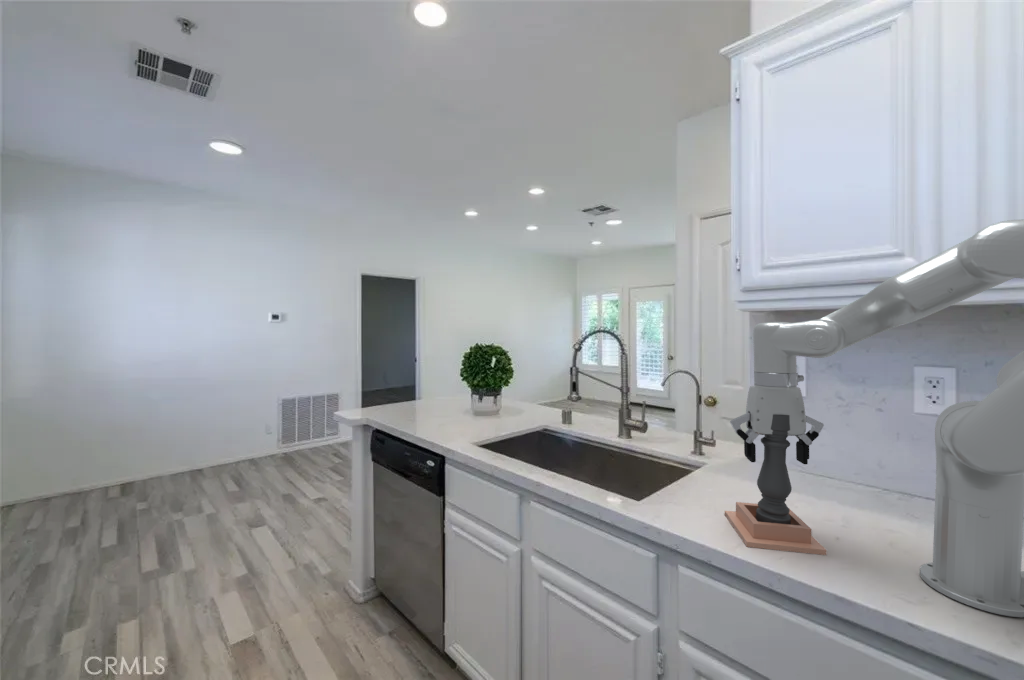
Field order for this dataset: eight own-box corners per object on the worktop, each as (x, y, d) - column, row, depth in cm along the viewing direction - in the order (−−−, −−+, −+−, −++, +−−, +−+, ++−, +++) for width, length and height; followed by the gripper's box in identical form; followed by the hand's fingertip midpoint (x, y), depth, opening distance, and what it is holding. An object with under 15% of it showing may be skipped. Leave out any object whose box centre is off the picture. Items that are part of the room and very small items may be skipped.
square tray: (791, 520, 91) (791, 503, 90) (826, 555, 77) (827, 534, 77) (724, 514, 93) (724, 498, 93) (746, 546, 80) (747, 527, 80)
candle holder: (796, 538, 81) (799, 416, 80) (762, 534, 82) (765, 414, 82) (782, 523, 87) (785, 410, 86) (751, 520, 88) (754, 408, 88)
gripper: (811, 378, 86) (813, 457, 86) (724, 378, 89) (725, 454, 90) (832, 382, 79) (833, 469, 79) (736, 382, 82) (737, 465, 82)
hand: (776, 461), depth 84 cm, fingers open, 9 cm apart
